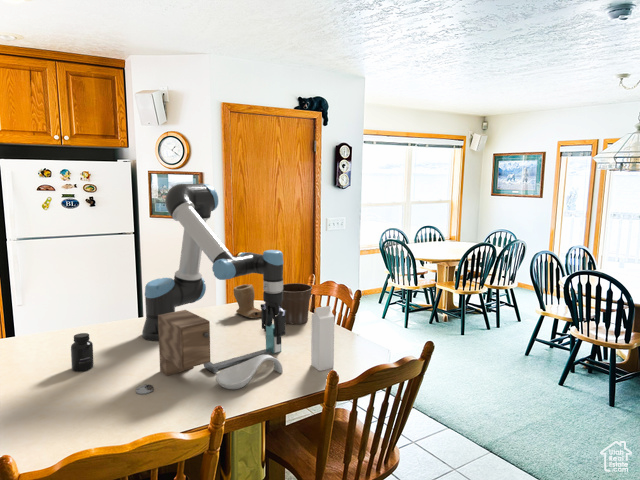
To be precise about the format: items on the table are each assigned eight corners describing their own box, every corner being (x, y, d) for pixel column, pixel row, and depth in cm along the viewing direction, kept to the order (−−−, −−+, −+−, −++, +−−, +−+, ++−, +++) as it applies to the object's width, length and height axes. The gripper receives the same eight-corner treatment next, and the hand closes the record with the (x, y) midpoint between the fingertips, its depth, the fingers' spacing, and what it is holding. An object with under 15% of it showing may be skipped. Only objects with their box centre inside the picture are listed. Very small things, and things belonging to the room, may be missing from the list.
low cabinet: (160, 371, 159) (157, 315, 156) (186, 363, 166) (185, 309, 163) (185, 389, 146) (183, 328, 143) (213, 380, 152) (212, 322, 150)
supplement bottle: (84, 373, 157) (82, 339, 155) (67, 371, 158) (65, 337, 157) (98, 365, 164) (96, 332, 162) (81, 363, 165) (79, 331, 163)
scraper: (203, 366, 162) (203, 339, 161) (272, 347, 182) (272, 322, 181) (213, 373, 157) (213, 344, 156) (283, 352, 177) (283, 327, 176)
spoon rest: (227, 398, 141) (227, 375, 140) (209, 384, 150) (208, 363, 149) (289, 376, 157) (289, 356, 156) (269, 365, 165) (269, 346, 164)
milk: (333, 368, 164) (335, 307, 161) (318, 371, 161) (320, 310, 158) (325, 361, 169) (326, 303, 166) (310, 364, 166) (311, 305, 163)
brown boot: (229, 313, 226) (229, 284, 224) (251, 309, 233) (250, 280, 231) (244, 321, 214) (244, 290, 212) (266, 317, 221) (266, 286, 219)
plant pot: (291, 328, 205) (291, 293, 203) (270, 320, 217) (270, 286, 215) (318, 321, 216) (319, 287, 214) (297, 313, 228) (297, 281, 226)
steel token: (133, 391, 145) (133, 387, 145) (149, 386, 148) (149, 383, 148) (140, 397, 141) (139, 393, 141) (155, 392, 145) (155, 388, 144)
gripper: (251, 288, 179) (252, 345, 182) (279, 297, 166) (279, 359, 170) (267, 285, 184) (267, 341, 187) (295, 293, 171) (295, 353, 175)
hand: (273, 349), depth 178 cm, fingers closed on scraper, 4 cm apart
